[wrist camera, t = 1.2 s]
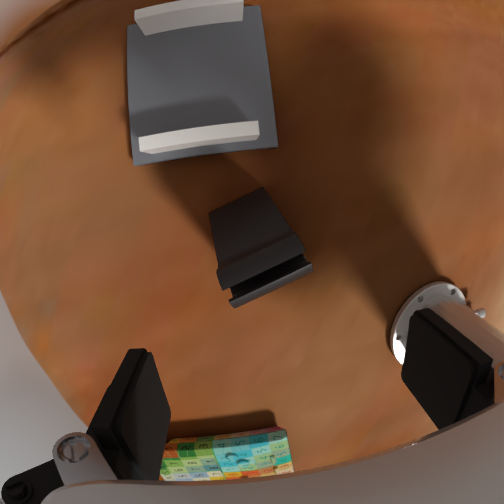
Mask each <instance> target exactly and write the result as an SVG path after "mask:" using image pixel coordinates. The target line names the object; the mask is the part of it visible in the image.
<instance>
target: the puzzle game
mask: <svg viewBox="0 0 504 504" xmlns="http://www.w3.org/2000/svg"><path fill="white" fill-rule="evenodd" d="M291 472H294V468H293V463H292V458H291V453H290V448H289V443H288V438H287V433H286V430H285V429H283V428H280V427H278V426H275V427H270V428H264V429H258V430H252V431H245V432H238V433H231V434H222V435H213V436H203V437H191V438H176V439H172V440H170V442H169V443H167V444H165V448H164V454H163V459H162V464H161V470H160V474H161V476H162V477H163V479H164V480H165V481H207V480H229V479H242V478H253V477H262V476H270V475H278V474H285V473H291Z"/></svg>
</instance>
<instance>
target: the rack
mask: <svg viewBox="0 0 504 504" xmlns="http://www.w3.org/2000/svg"><path fill="white" fill-rule="evenodd" d="M243 5H244V1H243V0H180V1H174V2H169V3H164V4H159V5H154V6H150V7H146V8H142V9H138V10H135V15H134V20H135V21H136V23H135V24H132V25H128V26H127V79H128V103H129V119H130V133H131V144H132V155H133V165H134V166H141V165H146V164H152V163H158V162H164V161H170V160H176V159H182V158H189V157H196V156H204V155H211V154H219V153H228V152H237V151H246V150H257V149H268V148H277V147H278V140H277V130H276V122H275V113H274V104H273V96H272V88H271V80H270V72H269V65H268V57H267V50H266V43H265V35H264V29H263V22H262V15H261V9H260V6H243Z"/></svg>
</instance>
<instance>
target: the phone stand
mask: <svg viewBox="0 0 504 504" xmlns="http://www.w3.org/2000/svg"><path fill="white" fill-rule="evenodd" d="M209 218H210V223H211V229H212V234H213V240H214V245H215V250H216V256H217V261H218V269H217V277H218V280H219V283H220V286H221V288H222V290H225V289H227V288H230V289H231V292H232V295H233V298H231V299H229V303H230V304H231V305H232V307H233V308H237V307H239V306H241V305H244V304H246V303H248V302H250V301H252V300H254V299H257V298H259V297H261V296H263V295H265V294H267V293H270V292H272V291H274V290H276V289H278V288H280V287H282V286H284V285H286V284H289V283H291V282H293V281H295V280H297V279H299V278H301V277H303V276H305V275H307V274H309V273H311V272H313V267H312V264H311V262H310V261H309V262H307V261H306V259H305V257H304V255H303V252H305V251H306V250H305V248H304V246H303V244H302V243H301V241H300V239H299V237H298V236H297V234H296V233H295V232H293V231H292V229H291V228H290V226H289V225H288V223H287V222H286V220H285V219H284V217H283V216H282V214H281V213H280V211H279V210H278V208H277V207H276V205H275V204H274V202H273V201H272V199H271V198H270V196H269V195H268V193H267V192H266V190H265V189H264V187H262V188H260V189H258V190H255V191H253V192H251V193H249V194H247V195H245V196H243V197H241V198H239V199H237V200H235V201H233V202H231V203H229V204H227V205H225V206H223V207H220V208H218V209H216V210H214V211H212V212H210V213H209Z"/></svg>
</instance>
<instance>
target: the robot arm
mask: <svg viewBox="0 0 504 504" xmlns="http://www.w3.org/2000/svg"><path fill="white" fill-rule="evenodd" d="M485 315H486V311H485V309H484V308H480V309H477V310H475V311H474V310H473V309H471V308H470V307H468V306H467V305H466V301H465V297H464V295H463V293H462V292H461V290H460V289H458V288H457V287H456V286H454V285H453V284H451V283H448V282H445V281H437V282H432V283H430V284H427V285H425V286H423V287H422V288H420V289H419V290H417V291H416V292H415V293H414V294H412V295H411V296H410V297H409V298H408V299H407V301H406V302H405V303H404V304H403V306H402V307H401V309H400V310H399V312H398V314H397V316H396V318H395V320H394V322H393V326H392V329H391V334H390V346H391V350H392V353H393V355H394V356H395V358H396V359H397V360H398V361H399V363H401V364H402V365H403V366H402V372H401V377H402V380H403V382H404V383H405V385H406V386H407V387H408V389H409V390H410V391H411V393H412V394H413V395H414V397H415V398H416V399H417V401H418V402H419V403H420V405H421V406H422V407H423V409H424V410H425V411H426V413H427V414H428V416H429V417H430V418H431V420H432V421H433V422H434V424H435V425H436V427H437V428H438V429H439V430H438V431H435V432H433V433H431V434H428V435H426V436H423V437H421V438H418V439H415V440H413V441H410V442H407V443H404V444H402V445H399V446H396V447H393V448H390V449H387V450H384V451H380V452H377V453H374V454H371V455H367V456H364V457H360V458H356V459H353V460H349V461H345V462H341V463H337V464H332V465H328V466H323V467H318V468H313V469H308V470H303V471H297V472H291V473H285V474H278V475H270V476H262V477H253V478H242V479H229V480H207V481H159V475H160V470H161V464H162V459H163V454H164V448H165V443H166V438H167V433H168V428H169V423H170V418H171V411H170V407H169V404H168V401H167V398H166V395H165V392H164V389H163V386H162V383H161V380H160V377H159V374H158V371H157V368H156V365H155V361H154V358H153V355H152V353H151V352H147V350H146V349H145V348H140V349H129V350H128V352H127V354H126V356H125V358H124V360H123V362H122V363H121V365H120V367H119V369H118V371H117V373H116V375H115V377H114V379H113V381H112V383H111V385H110V386H109V387H108V388H107V390H106V392H105V394H104V396H103V398H102V400H101V403H100V405H99V407H98V409H97V411H96V413H95V415H94V417H93V419H92V421H91V423H90V425H89V428H88V430H87V432H86V433H81V432H74V433H70V434H67V435H65V436H63V437H61V438H60V439H59V440H58V441H57V442H56V443H55V445H54V447H53V451H52V453H53V458H54V459H52V460H50V461H48V462H46V463H44V464H41V465H39V466H37V467H34V468H32V469H30V470H27V471H25V472H23V473H20V474H18V475H15V476H13V477H11V478H9V479H8V480H7V481H6V482H5V483H4V485H3V487H2V491H1V495H2V498H1V499H0V504H504V333H503V332H501V331H500V330H498V329H497V328H495V327H494V326H493V325H491V324H490V323H488V322H487V321H485V320H484V319H483V318H484V317H485Z"/></svg>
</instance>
